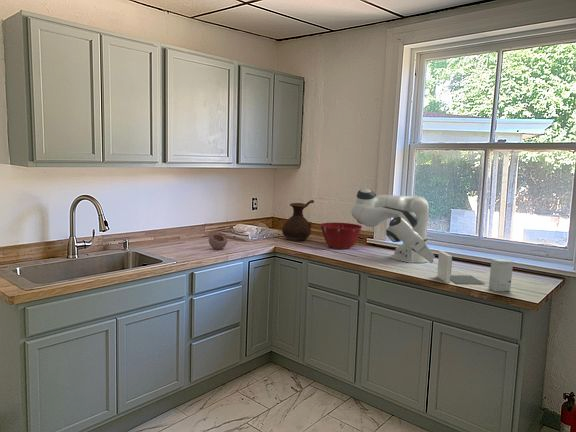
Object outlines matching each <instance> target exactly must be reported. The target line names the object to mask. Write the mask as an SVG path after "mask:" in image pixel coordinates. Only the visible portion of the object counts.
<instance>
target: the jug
mask: <svg viewBox="0 0 576 432" xmlns="http://www.w3.org/2000/svg"><path fill="white" fill-rule="evenodd" d="M314 203H315V200H314V199H310V200H308V202H306V203H303V202H294V203H293V202H291V203H290V204H289V206H290V207H292V209H293V211H292V212H293V214H292V216H290V217H289V218H288V219H286V221H285V223H284V224H283V226H282V231H281V232H282V235H283V236H284V237H285V238H286V239H287V240H288V241H291V242H302V241H304V240H306V239H308V238H309V237H310V236H311V233H312V228H311V227H312V224H313V223H312V221H308V220H307V218H305V217H304V214H303V211H304V209H306V208H307V207H308V206H309V205H310V204H314Z"/></svg>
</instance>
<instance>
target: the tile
mask: <svg viewBox="0 0 576 432" xmlns="http://www.w3.org/2000/svg"><path fill="white" fill-rule="evenodd" d="M437 261H438V262H437V272H436V273H437V274H436V277H437V278H438V279H440V280H441V281H442V280H443V282H444V283H445V284H450V283H451V275H452V266H453V256H452V255H451V254H449V253H447V252H446V251H443V250H439V251H438V258H437Z"/></svg>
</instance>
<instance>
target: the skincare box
mask: <svg viewBox="0 0 576 432" xmlns="http://www.w3.org/2000/svg"><path fill="white" fill-rule="evenodd" d="M490 261H491V262H490V272H489V273H490V274H489V283H488V289H490V290H492V291H494V292H510V291H511V288H512V287H511V286H512V276H513V267H514V261H513V260H510V259H503V258H502V259H501V258H491V260H490Z"/></svg>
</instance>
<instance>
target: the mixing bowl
mask: <svg viewBox="0 0 576 432" xmlns="http://www.w3.org/2000/svg"><path fill="white" fill-rule="evenodd" d="M319 226H320V227H321V231H322V236H323V239H324V240H325V243H326V244H327V245H328V246H329V247H330V248H333V249H336V250H337V249H338V250H347V249H350V248H351V247H354V246H355V244H356V242H357V240H358V238H359V236H360V234H361V231H362V228H363V226H362V225H361V224H360V225H359V224H356V223H349V222H323V223H320V225H319Z"/></svg>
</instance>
